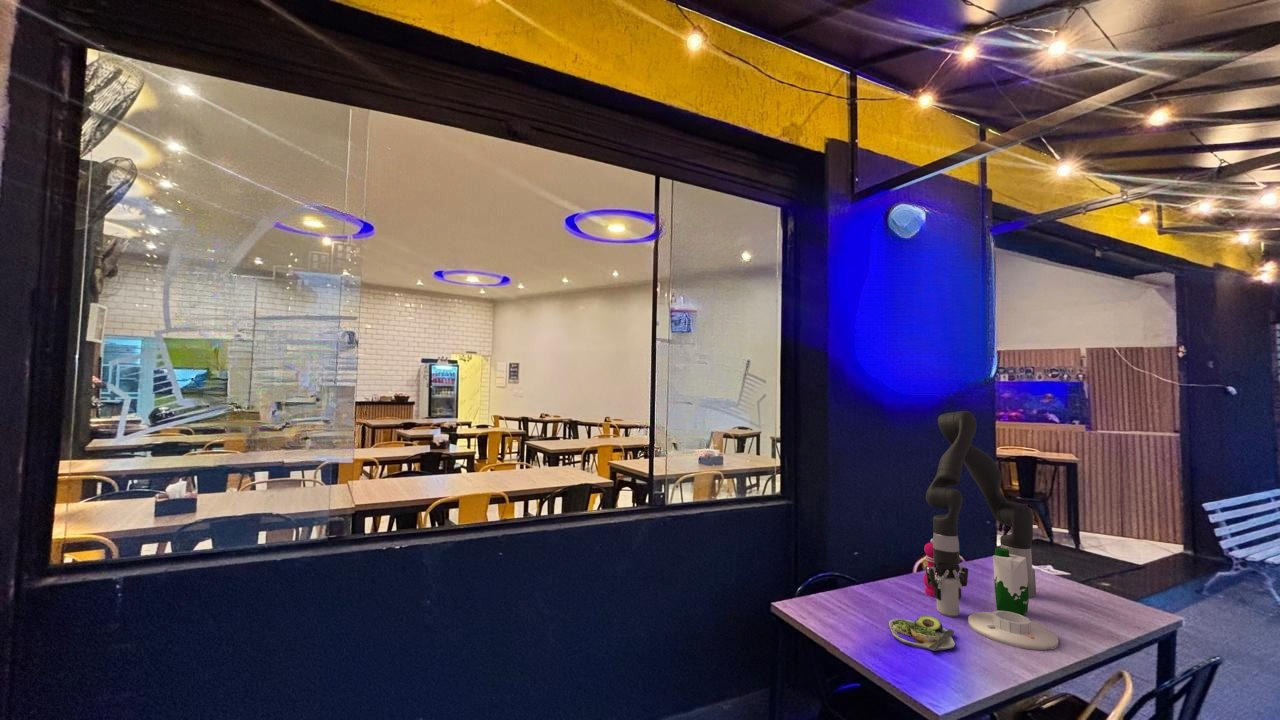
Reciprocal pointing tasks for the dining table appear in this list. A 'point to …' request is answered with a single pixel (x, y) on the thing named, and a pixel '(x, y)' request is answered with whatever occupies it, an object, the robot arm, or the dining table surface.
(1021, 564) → the milk carton
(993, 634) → the twist-lock holder
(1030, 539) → the robot arm
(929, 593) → the pepper mill
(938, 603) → the beverage can
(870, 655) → the dining table surface
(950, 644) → the salad plate
